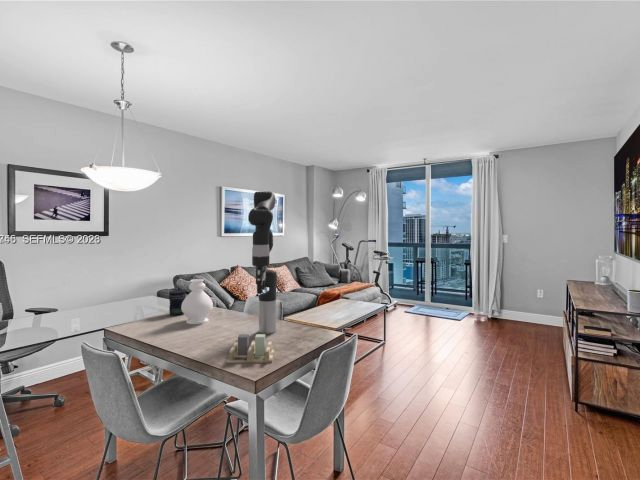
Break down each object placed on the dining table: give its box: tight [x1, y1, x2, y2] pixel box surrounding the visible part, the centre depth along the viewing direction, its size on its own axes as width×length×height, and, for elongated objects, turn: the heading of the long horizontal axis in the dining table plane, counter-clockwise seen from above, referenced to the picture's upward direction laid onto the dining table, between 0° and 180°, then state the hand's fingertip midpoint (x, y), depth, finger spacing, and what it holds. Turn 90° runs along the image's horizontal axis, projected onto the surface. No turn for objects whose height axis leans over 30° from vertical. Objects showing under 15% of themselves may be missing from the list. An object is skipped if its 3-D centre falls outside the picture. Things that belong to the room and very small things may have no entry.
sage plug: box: [254, 333, 266, 356], centre depth 148 cm, size 4×4×8 cm
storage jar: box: [168, 289, 187, 317], centre depth 218 cm, size 10×10×15 cm
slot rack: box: [225, 339, 276, 364], centre depth 148 cm, size 15×19×4 cm
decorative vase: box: [181, 278, 214, 325], centre depth 201 cm, size 18×18×25 cm
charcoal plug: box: [237, 333, 250, 356], centre depth 147 cm, size 4×4×8 cm
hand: (260, 291), depth 149 cm, fingers open, 8 cm apart
